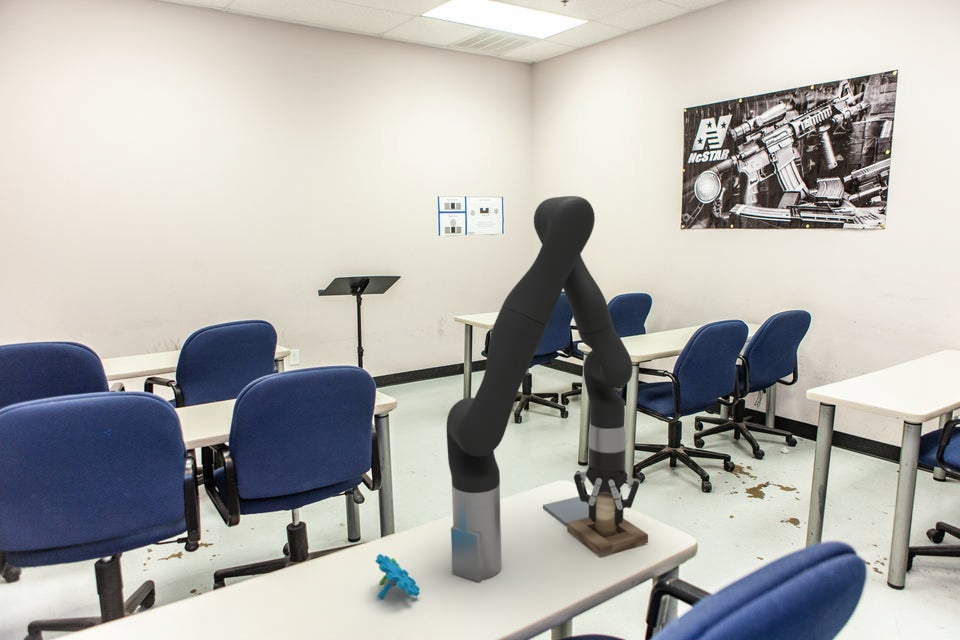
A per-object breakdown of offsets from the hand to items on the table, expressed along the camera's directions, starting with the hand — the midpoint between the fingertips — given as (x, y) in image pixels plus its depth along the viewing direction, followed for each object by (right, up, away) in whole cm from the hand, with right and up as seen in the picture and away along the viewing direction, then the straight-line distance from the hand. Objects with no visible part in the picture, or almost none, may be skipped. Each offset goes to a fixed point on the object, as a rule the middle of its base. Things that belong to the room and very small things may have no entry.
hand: (606, 521), depth 127 cm
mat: (-5, -2, +12) cm, 13 cm away
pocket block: (0, -3, +1) cm, 3 cm away
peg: (0, -3, 0) cm, 3 cm away
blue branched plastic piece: (-42, -7, -17) cm, 46 cm away
